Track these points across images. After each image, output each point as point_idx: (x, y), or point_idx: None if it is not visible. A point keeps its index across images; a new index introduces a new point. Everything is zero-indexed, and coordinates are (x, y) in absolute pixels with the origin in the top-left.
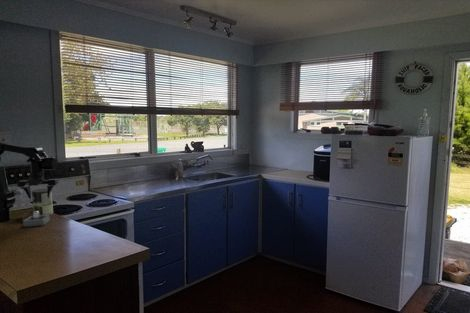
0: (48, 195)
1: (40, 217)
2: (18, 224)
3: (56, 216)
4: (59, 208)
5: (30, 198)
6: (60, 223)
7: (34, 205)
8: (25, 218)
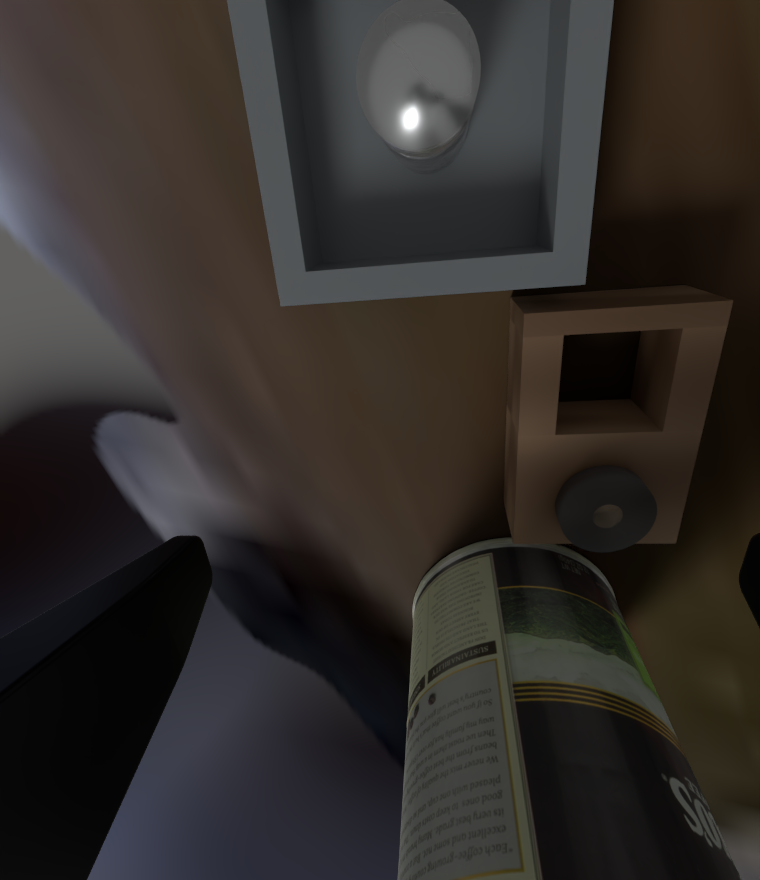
0: (119, 578)
1: (407, 261)
2: (723, 135)
3: (308, 476)
4: None
5: (748, 570)
6: (46, 60)
7: (629, 670)
8: (658, 296)
